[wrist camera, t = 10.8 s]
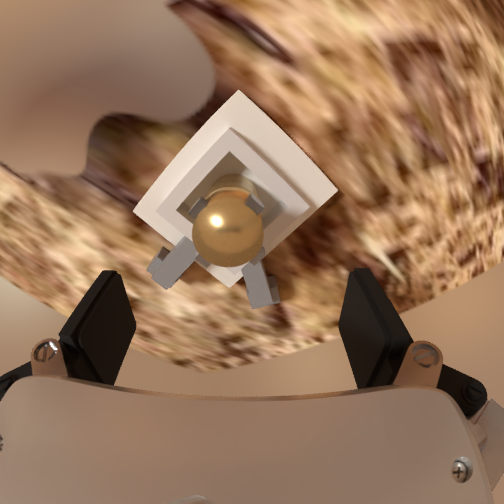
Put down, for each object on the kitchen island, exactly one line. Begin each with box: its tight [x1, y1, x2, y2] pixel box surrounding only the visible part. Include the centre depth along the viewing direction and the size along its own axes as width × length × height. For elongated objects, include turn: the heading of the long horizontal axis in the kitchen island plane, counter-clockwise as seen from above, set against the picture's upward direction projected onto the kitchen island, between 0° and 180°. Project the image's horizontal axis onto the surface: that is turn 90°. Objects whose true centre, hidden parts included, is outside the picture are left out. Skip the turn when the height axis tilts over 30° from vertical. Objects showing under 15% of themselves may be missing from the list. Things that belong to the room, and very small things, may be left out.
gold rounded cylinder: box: [188, 174, 266, 268], centre depth 20 cm, size 5×5×8 cm
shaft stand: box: [133, 90, 338, 309], centre depth 24 cm, size 17×18×4 cm
